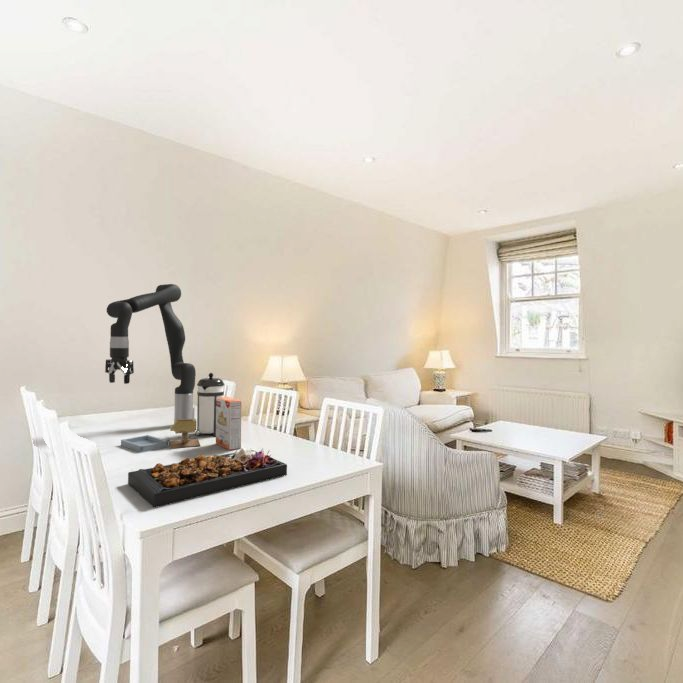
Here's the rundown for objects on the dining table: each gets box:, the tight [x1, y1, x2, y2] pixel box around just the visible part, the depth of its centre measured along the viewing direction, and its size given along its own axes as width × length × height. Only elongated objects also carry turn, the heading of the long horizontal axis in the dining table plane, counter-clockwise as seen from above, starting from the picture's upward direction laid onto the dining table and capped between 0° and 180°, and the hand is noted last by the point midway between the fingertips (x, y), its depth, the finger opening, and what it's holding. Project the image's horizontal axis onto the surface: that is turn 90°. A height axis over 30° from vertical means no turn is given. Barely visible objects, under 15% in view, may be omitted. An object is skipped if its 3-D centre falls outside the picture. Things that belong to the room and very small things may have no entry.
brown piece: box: [169, 430, 201, 450], centre depth 188 cm, size 12×12×6 cm
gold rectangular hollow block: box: [169, 418, 197, 432], centre depth 188 cm, size 10×6×4 cm, turn 113°
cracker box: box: [215, 396, 242, 451], centre depth 186 cm, size 14×6×21 cm, turn 39°
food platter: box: [127, 446, 288, 508], centre depth 144 cm, size 45×25×10 cm, turn 132°
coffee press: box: [194, 372, 225, 438], centre depth 210 cm, size 17×16×30 cm
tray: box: [120, 434, 169, 453], centre depth 184 cm, size 17×12×2 cm
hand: (119, 383), depth 190 cm, fingers open, 8 cm apart
